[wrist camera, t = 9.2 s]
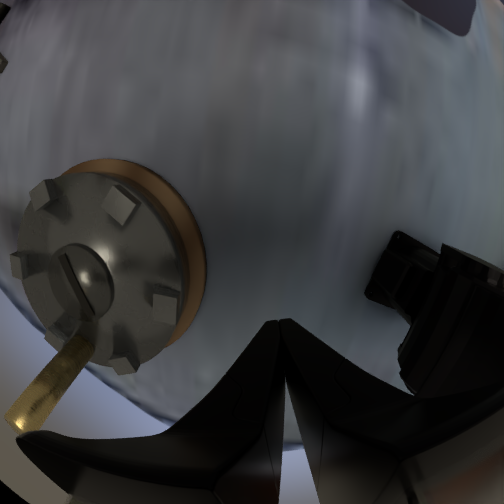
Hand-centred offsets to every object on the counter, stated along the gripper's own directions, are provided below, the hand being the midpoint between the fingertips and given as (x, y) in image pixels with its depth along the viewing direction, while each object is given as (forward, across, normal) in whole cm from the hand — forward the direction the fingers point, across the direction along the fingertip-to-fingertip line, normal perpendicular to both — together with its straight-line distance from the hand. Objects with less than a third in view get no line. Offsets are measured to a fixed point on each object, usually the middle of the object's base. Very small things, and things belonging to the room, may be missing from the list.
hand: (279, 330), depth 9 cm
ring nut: (+11, +14, 0) cm, 18 cm away
